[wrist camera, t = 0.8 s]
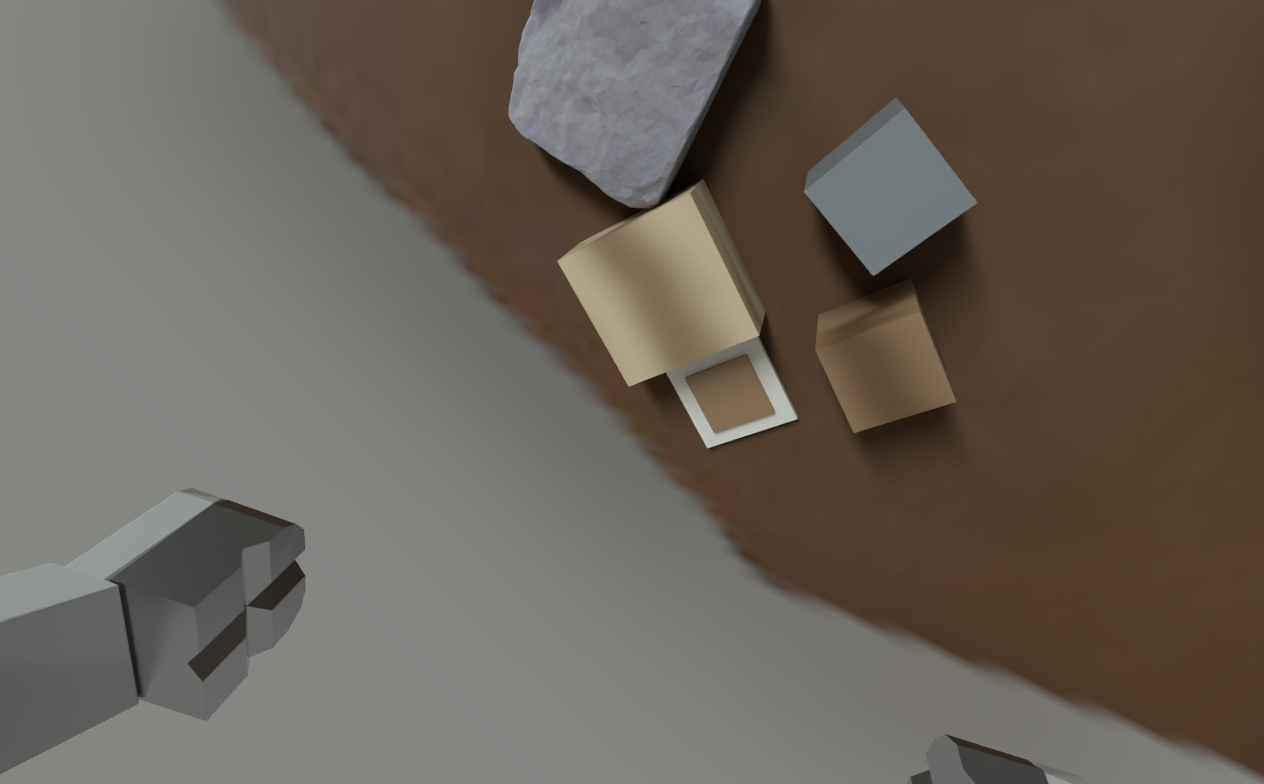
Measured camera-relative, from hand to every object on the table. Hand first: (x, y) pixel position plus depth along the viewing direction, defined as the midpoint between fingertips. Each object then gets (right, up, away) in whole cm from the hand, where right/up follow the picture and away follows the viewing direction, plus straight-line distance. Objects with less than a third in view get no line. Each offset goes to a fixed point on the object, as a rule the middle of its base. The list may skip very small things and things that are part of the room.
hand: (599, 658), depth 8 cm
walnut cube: (+14, +6, +28) cm, 32 cm away
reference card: (+6, +3, +32) cm, 33 cm away
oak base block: (+3, +10, +30) cm, 32 cm away
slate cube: (+13, +14, +25) cm, 31 cm away
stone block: (0, +20, +26) cm, 33 cm away
